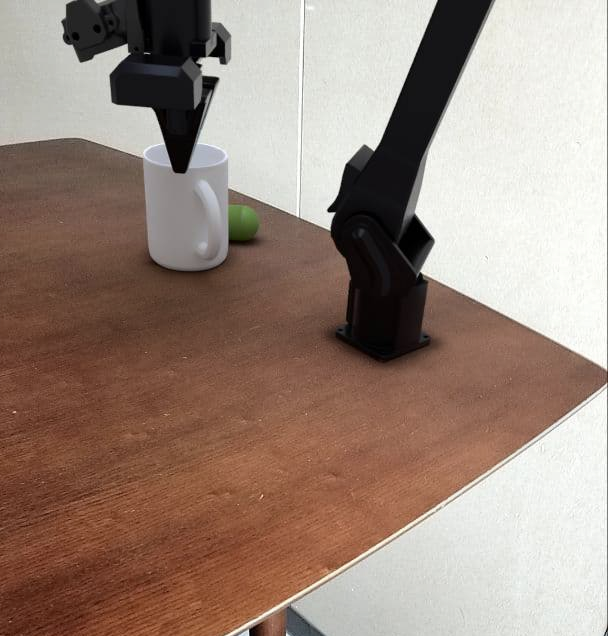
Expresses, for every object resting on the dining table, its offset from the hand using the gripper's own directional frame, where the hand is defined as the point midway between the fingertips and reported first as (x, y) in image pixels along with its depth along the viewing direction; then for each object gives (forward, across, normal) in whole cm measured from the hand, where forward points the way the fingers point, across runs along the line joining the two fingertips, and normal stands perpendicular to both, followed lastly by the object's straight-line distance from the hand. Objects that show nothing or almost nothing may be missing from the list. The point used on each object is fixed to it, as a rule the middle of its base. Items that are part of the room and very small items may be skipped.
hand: (180, 172), depth 75 cm
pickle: (+12, -17, 0) cm, 21 cm away
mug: (+12, -9, -1) cm, 15 cm away
